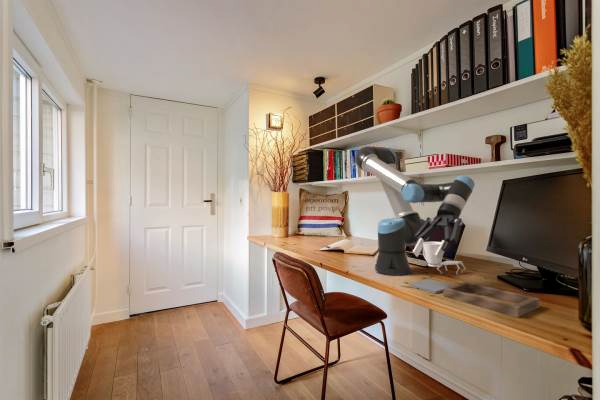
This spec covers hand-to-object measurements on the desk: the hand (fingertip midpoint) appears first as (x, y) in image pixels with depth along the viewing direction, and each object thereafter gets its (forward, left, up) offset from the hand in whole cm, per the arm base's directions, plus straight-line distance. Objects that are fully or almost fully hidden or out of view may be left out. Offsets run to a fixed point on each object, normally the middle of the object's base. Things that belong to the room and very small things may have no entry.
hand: (425, 255), depth 102 cm
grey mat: (-1, +3, -12) cm, 12 cm away
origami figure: (-8, +27, -12) cm, 31 cm away
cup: (0, +4, -4) cm, 6 cm away
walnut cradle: (+18, +4, -12) cm, 22 cm away
